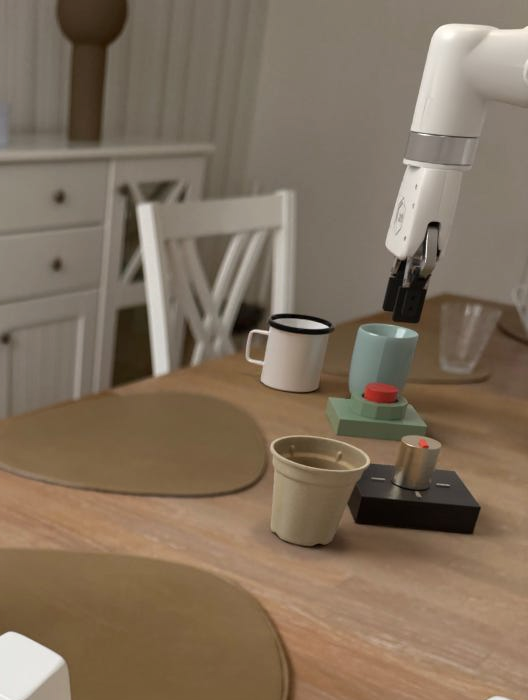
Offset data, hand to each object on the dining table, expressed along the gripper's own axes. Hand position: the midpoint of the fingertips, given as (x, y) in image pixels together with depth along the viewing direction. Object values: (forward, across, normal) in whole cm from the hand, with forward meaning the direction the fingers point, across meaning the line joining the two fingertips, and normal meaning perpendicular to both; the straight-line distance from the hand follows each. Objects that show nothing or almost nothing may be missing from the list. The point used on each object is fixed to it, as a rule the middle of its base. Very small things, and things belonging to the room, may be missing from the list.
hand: (400, 315), depth 120 cm
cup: (+15, -11, +2) cm, 18 cm away
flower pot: (+15, +36, -14) cm, 41 cm away
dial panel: (+14, +27, -2) cm, 31 cm away
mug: (+15, -17, -10) cm, 25 cm away
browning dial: (+11, +27, -2) cm, 29 cm away
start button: (+11, 0, 0) cm, 11 cm away
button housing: (+14, 0, 0) cm, 14 cm away
